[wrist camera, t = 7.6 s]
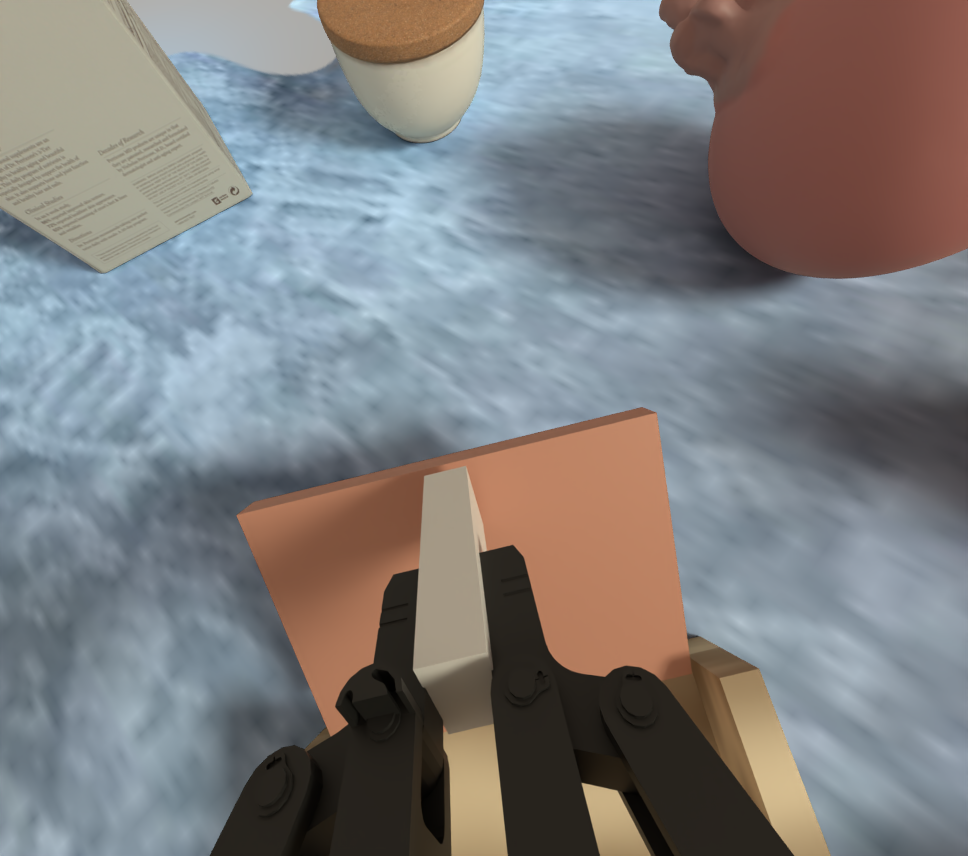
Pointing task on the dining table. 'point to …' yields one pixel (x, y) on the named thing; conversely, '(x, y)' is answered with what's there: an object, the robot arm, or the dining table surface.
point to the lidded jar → (409, 60)
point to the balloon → (834, 128)
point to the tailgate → (507, 521)
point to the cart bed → (718, 715)
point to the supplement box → (103, 133)
